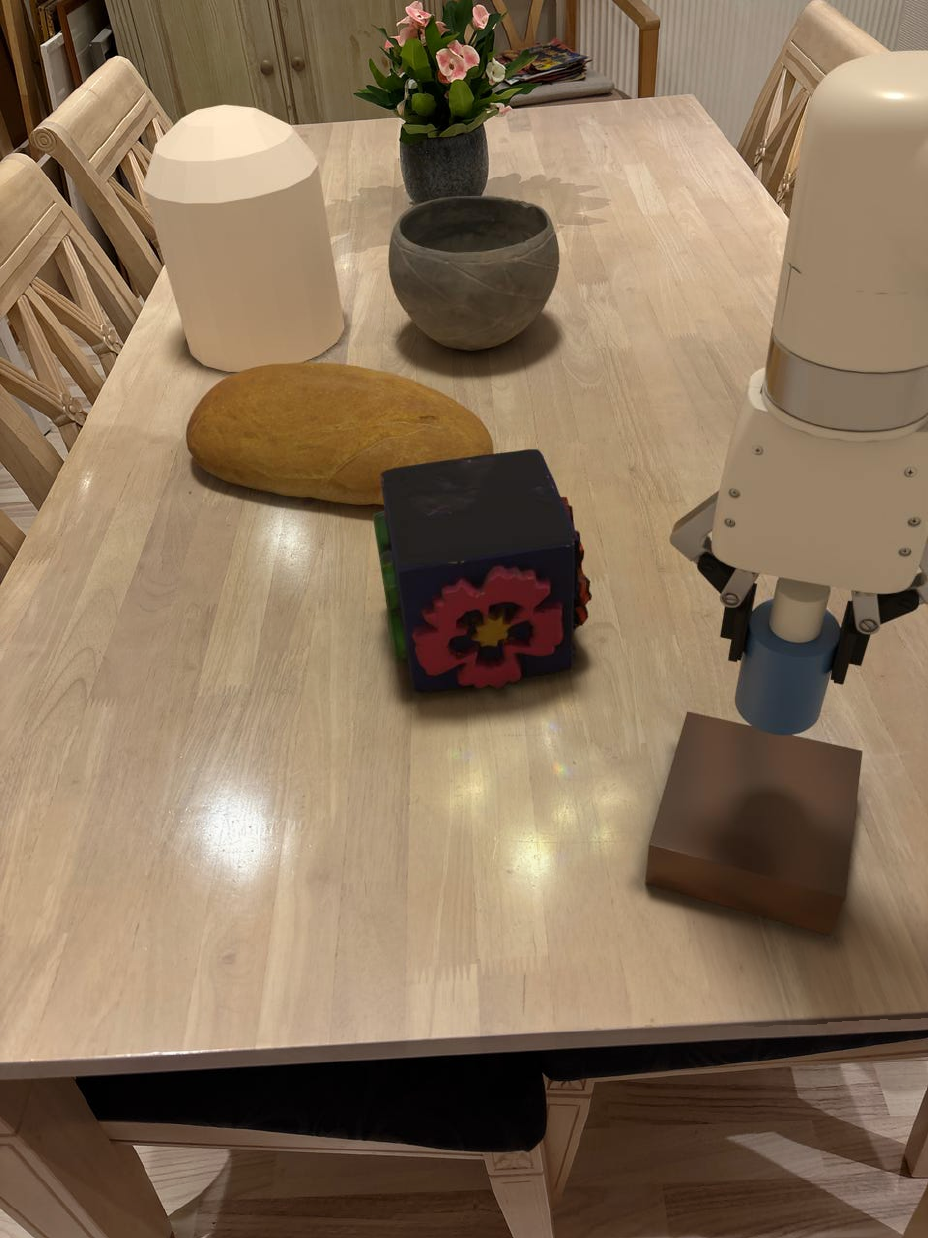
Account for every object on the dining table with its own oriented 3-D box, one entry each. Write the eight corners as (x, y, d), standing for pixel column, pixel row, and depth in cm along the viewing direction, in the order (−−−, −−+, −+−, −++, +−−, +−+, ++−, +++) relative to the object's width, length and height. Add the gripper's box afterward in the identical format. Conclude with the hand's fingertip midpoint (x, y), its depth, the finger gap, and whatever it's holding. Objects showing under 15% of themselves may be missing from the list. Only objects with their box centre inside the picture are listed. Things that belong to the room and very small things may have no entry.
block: (849, 791, 69) (862, 750, 66) (831, 936, 61) (845, 898, 58) (682, 751, 73) (687, 711, 70) (644, 883, 65) (648, 844, 62)
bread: (466, 535, 95) (458, 448, 88) (162, 484, 105) (135, 402, 98) (522, 437, 107) (519, 353, 100) (246, 400, 117) (226, 322, 111)
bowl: (528, 386, 115) (525, 261, 105) (369, 364, 122) (352, 245, 112) (580, 309, 129) (581, 193, 119) (434, 294, 136) (424, 183, 126)
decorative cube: (600, 677, 79) (605, 543, 70) (403, 711, 78) (381, 579, 69) (556, 561, 91) (555, 432, 81) (383, 589, 89) (361, 461, 80)
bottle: (824, 684, 60) (856, 565, 53) (814, 744, 56) (847, 625, 50) (742, 667, 61) (763, 549, 55) (727, 724, 58) (748, 606, 51)
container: (301, 381, 120) (252, 138, 101) (157, 362, 126) (85, 131, 107) (371, 307, 134) (339, 83, 115) (238, 294, 140) (187, 79, 122)
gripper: (1059, 354, 44) (949, 644, 56) (681, 314, 49) (656, 587, 61) (1068, 441, 39) (945, 739, 51) (645, 387, 44) (626, 668, 56)
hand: (788, 653), depth 56 cm, fingers closed on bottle, 5 cm apart
